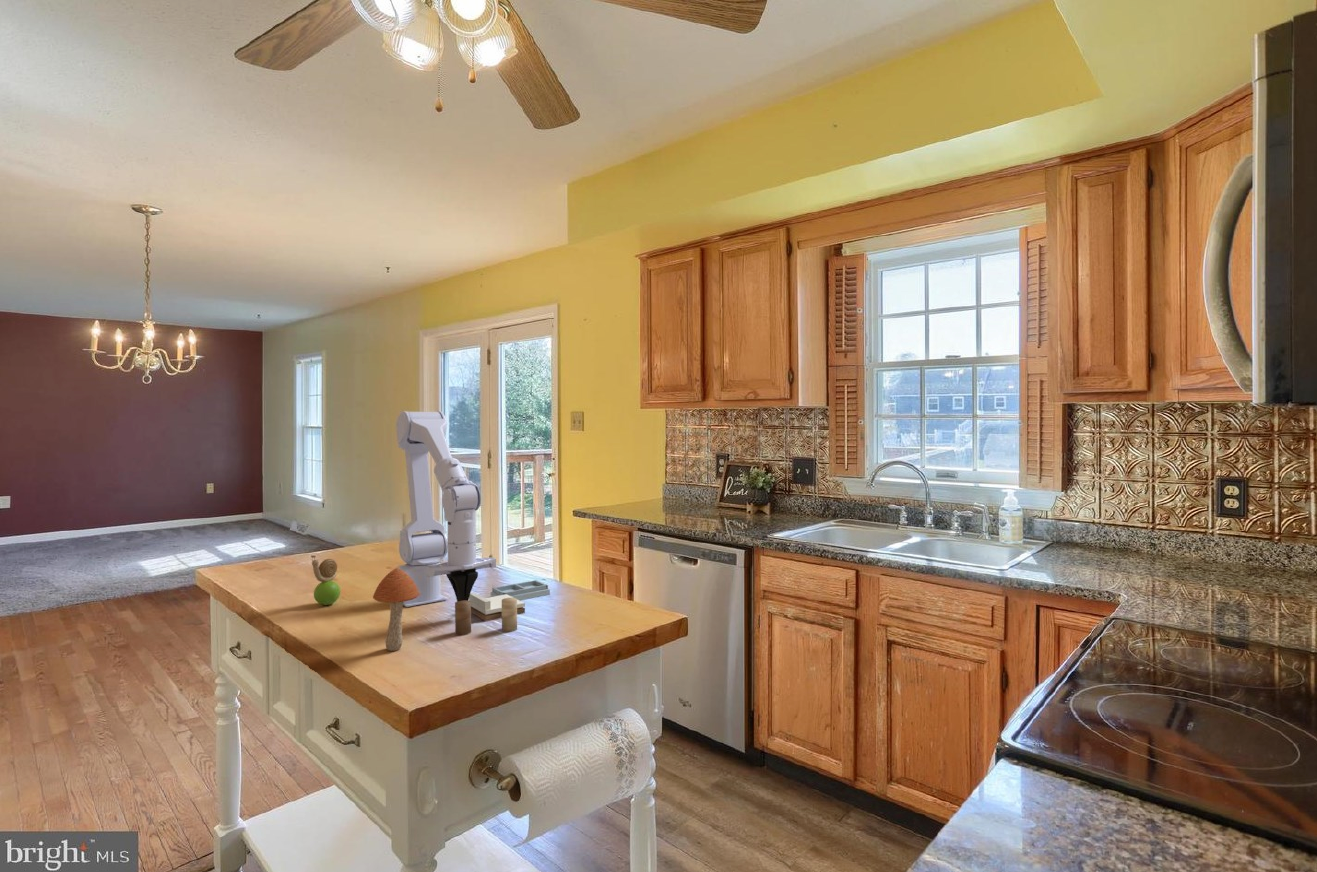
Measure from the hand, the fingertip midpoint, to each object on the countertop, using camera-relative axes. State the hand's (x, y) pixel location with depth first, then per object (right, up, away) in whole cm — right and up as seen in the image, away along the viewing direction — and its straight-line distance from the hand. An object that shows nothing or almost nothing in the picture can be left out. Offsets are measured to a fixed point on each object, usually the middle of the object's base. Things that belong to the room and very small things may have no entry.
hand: (462, 605), depth 136 cm
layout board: (+6, -3, +5) cm, 8 cm away
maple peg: (+11, -3, -7) cm, 14 cm away
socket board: (+8, -2, +18) cm, 20 cm away
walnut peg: (+3, -3, -9) cm, 10 cm away
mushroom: (-7, -4, -18) cm, 19 cm away
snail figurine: (-34, -3, +10) cm, 36 cm away
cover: (+6, -1, +5) cm, 8 cm away
